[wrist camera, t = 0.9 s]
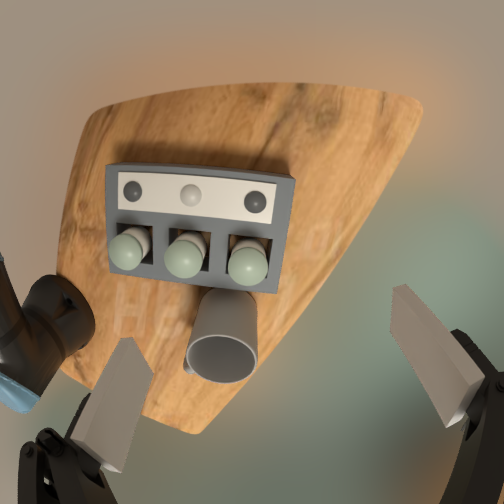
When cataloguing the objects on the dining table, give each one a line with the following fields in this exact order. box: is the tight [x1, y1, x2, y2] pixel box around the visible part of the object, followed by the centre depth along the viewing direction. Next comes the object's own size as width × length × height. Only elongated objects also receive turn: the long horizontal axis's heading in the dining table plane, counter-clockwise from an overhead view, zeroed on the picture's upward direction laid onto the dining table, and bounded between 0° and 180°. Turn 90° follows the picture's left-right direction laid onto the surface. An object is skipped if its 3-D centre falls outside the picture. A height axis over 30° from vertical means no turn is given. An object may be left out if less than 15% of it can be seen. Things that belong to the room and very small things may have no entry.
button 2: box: [108, 225, 152, 270], centre depth 30 cm, size 4×4×4 cm
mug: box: [183, 288, 258, 384], centre depth 35 cm, size 12×8×11 cm
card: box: [118, 172, 277, 224], centre depth 29 cm, size 18×4×1 cm, turn 83°
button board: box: [105, 162, 296, 294], centre depth 33 cm, size 22×14×4 cm, turn 83°
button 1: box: [228, 237, 268, 286], centre depth 31 cm, size 4×4×4 cm
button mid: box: [164, 231, 207, 278], centre depth 31 cm, size 4×4×4 cm
